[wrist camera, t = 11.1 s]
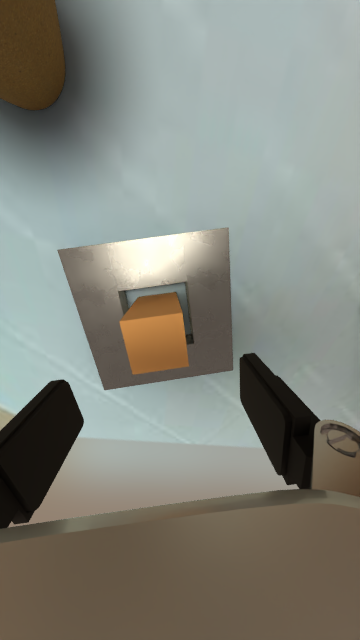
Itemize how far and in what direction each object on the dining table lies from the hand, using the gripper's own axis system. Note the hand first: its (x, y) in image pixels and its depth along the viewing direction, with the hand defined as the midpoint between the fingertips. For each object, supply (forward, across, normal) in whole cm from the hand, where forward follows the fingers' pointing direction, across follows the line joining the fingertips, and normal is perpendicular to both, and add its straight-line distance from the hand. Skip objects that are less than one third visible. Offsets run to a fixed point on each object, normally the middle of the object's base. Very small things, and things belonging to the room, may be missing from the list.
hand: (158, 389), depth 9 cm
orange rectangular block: (+15, +1, 0) cm, 15 cm away
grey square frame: (+15, +1, 0) cm, 15 cm away
